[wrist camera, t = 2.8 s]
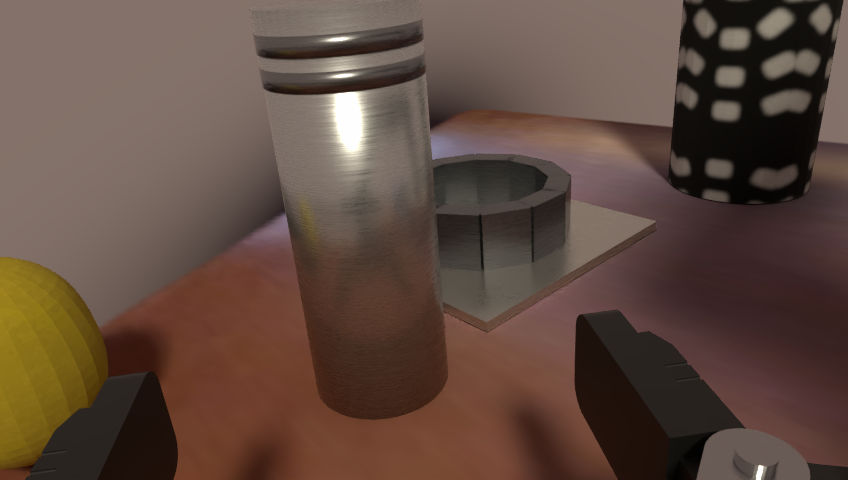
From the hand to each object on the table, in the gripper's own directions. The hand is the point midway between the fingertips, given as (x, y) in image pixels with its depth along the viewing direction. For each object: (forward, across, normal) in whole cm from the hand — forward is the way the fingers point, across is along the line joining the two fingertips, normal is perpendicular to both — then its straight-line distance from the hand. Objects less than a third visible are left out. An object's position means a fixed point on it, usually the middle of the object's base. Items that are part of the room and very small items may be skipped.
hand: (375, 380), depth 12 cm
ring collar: (+23, -6, +8) cm, 25 cm away
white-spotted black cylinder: (+27, -24, +8) cm, 37 cm away
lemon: (+9, +12, +8) cm, 17 cm away
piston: (+11, 0, +8) cm, 13 cm away
